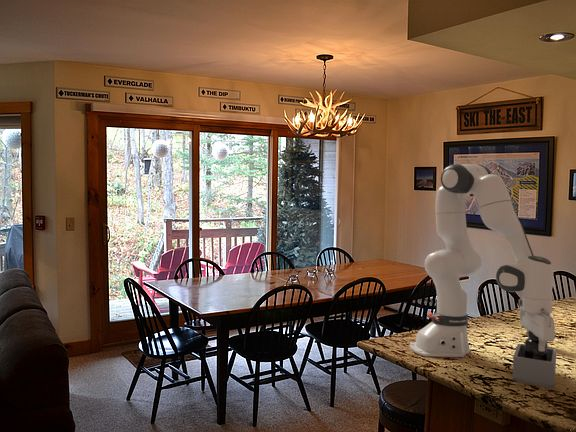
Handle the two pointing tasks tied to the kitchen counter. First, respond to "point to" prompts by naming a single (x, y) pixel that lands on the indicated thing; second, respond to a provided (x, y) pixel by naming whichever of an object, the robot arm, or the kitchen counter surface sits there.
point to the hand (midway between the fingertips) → (536, 346)
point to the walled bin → (534, 368)
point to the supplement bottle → (534, 348)
